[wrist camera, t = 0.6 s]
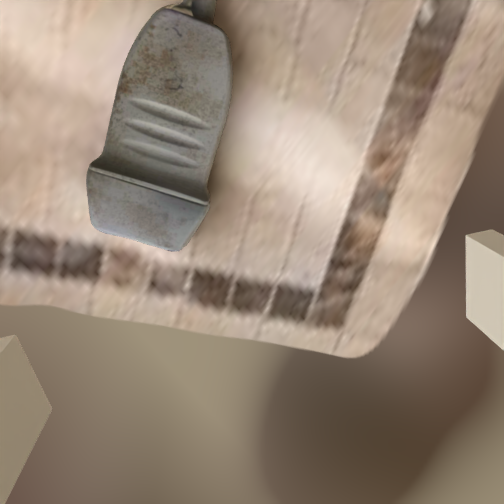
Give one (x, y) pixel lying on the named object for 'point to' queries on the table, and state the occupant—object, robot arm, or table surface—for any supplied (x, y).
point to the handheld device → (164, 129)
